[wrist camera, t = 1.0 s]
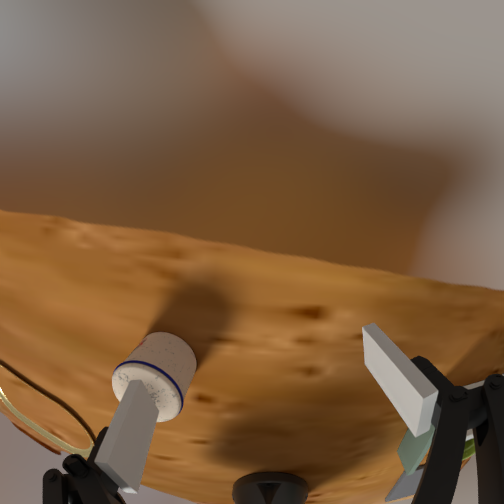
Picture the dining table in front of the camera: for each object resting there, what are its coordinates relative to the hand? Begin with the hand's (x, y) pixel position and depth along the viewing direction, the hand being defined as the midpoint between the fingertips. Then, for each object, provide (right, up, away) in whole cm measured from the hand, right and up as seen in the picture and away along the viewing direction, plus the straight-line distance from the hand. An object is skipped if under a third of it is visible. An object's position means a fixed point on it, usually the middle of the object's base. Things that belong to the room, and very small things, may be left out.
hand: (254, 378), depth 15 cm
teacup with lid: (-12, -9, +23) cm, 27 cm away
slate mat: (+40, -47, +26) cm, 67 cm away
